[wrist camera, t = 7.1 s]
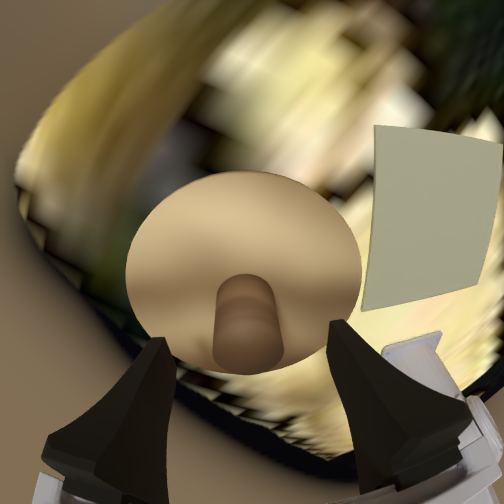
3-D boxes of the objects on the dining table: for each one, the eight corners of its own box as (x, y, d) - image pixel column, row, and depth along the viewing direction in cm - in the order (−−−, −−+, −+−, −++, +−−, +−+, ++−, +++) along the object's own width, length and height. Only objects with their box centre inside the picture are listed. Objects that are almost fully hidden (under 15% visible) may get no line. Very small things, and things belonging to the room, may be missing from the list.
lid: (344, 351, 18) (365, 404, 14) (165, 369, 18) (154, 424, 14) (362, 162, 12) (417, 186, 8) (103, 192, 12) (52, 228, 8)
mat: (475, 283, 23) (477, 284, 22) (360, 309, 22) (362, 311, 22) (500, 144, 16) (502, 144, 16) (373, 124, 16) (375, 125, 15)
